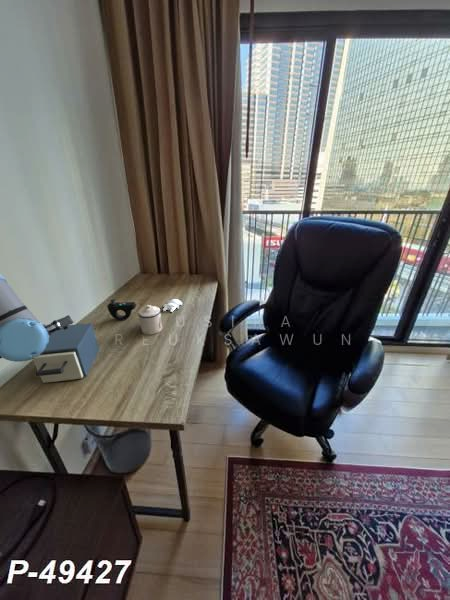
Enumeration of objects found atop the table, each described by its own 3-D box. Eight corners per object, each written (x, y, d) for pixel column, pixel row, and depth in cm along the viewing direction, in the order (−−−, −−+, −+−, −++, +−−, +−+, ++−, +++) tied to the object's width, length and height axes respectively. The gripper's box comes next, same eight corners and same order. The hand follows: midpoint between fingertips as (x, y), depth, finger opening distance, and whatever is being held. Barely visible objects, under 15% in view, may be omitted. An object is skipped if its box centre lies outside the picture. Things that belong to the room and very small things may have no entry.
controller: (112, 317, 118) (107, 298, 113) (139, 315, 119) (135, 296, 115) (109, 322, 114) (104, 302, 110) (137, 320, 115) (133, 301, 111)
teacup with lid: (164, 332, 106) (161, 308, 101) (142, 337, 103) (138, 312, 98) (159, 319, 116) (156, 296, 111) (139, 323, 113) (134, 300, 108)
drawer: (76, 390, 76) (67, 364, 72) (35, 395, 75) (22, 369, 70) (94, 352, 93) (88, 329, 89) (61, 355, 91) (52, 333, 87)
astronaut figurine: (158, 311, 123) (157, 305, 122) (171, 300, 133) (171, 295, 132) (173, 314, 120) (173, 308, 119) (186, 303, 130) (185, 298, 129)
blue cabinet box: (86, 376, 83) (76, 347, 78) (44, 381, 81) (31, 352, 76) (99, 349, 96) (91, 323, 91) (63, 353, 94) (53, 326, 89)
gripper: (-34, 388, 49) (-12, 373, 67) (92, 325, 63) (83, 326, 80) (-57, 356, 48) (-29, 349, 65) (76, 298, 62) (71, 306, 79)
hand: (33, 337), depth 73 cm, fingers open, 13 cm apart
